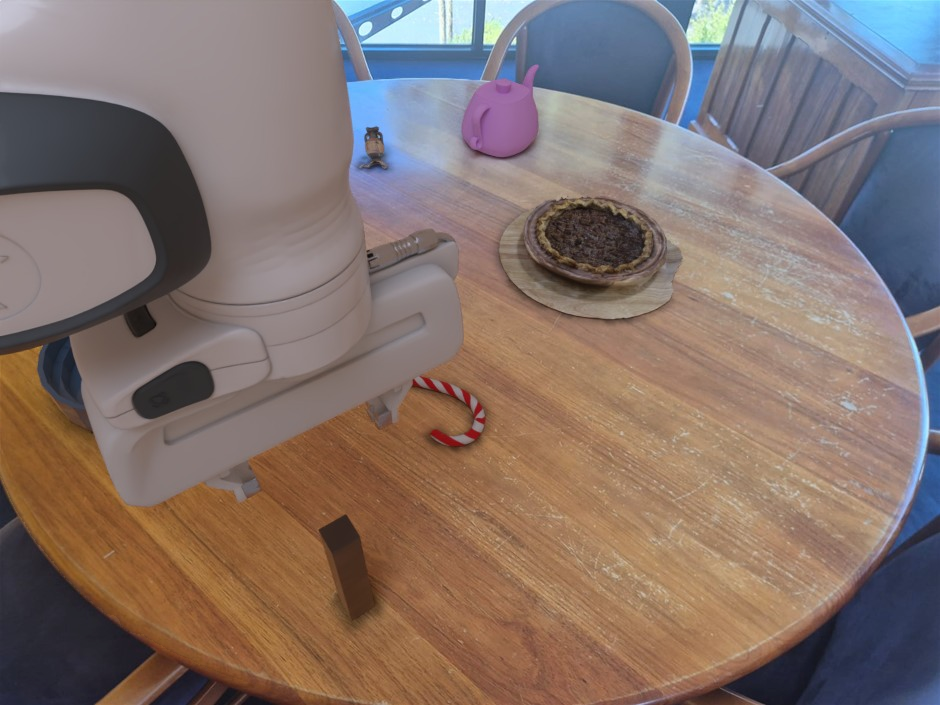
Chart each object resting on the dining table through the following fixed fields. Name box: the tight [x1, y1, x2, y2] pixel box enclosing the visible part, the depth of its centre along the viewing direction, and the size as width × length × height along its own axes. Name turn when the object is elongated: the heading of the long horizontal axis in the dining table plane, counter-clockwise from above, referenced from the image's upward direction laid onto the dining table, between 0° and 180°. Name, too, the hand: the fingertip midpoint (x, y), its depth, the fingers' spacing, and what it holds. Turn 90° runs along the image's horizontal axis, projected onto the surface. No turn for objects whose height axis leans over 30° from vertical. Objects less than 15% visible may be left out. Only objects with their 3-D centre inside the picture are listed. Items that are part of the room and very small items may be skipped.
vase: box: [358, 126, 390, 170], centre depth 109 cm, size 5×5×6 cm
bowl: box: [36, 336, 93, 432], centre depth 75 cm, size 21×21×5 cm
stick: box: [318, 513, 376, 622], centre depth 53 cm, size 2×2×14 cm
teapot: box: [460, 64, 540, 158], centre depth 113 cm, size 20×13×12 cm, turn 144°
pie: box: [498, 195, 683, 320], centre depth 93 cm, size 28×27×5 cm
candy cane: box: [411, 375, 486, 447], centre depth 73 cm, size 8×1×15 cm
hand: (318, 452), depth 39 cm, fingers open, 8 cm apart
